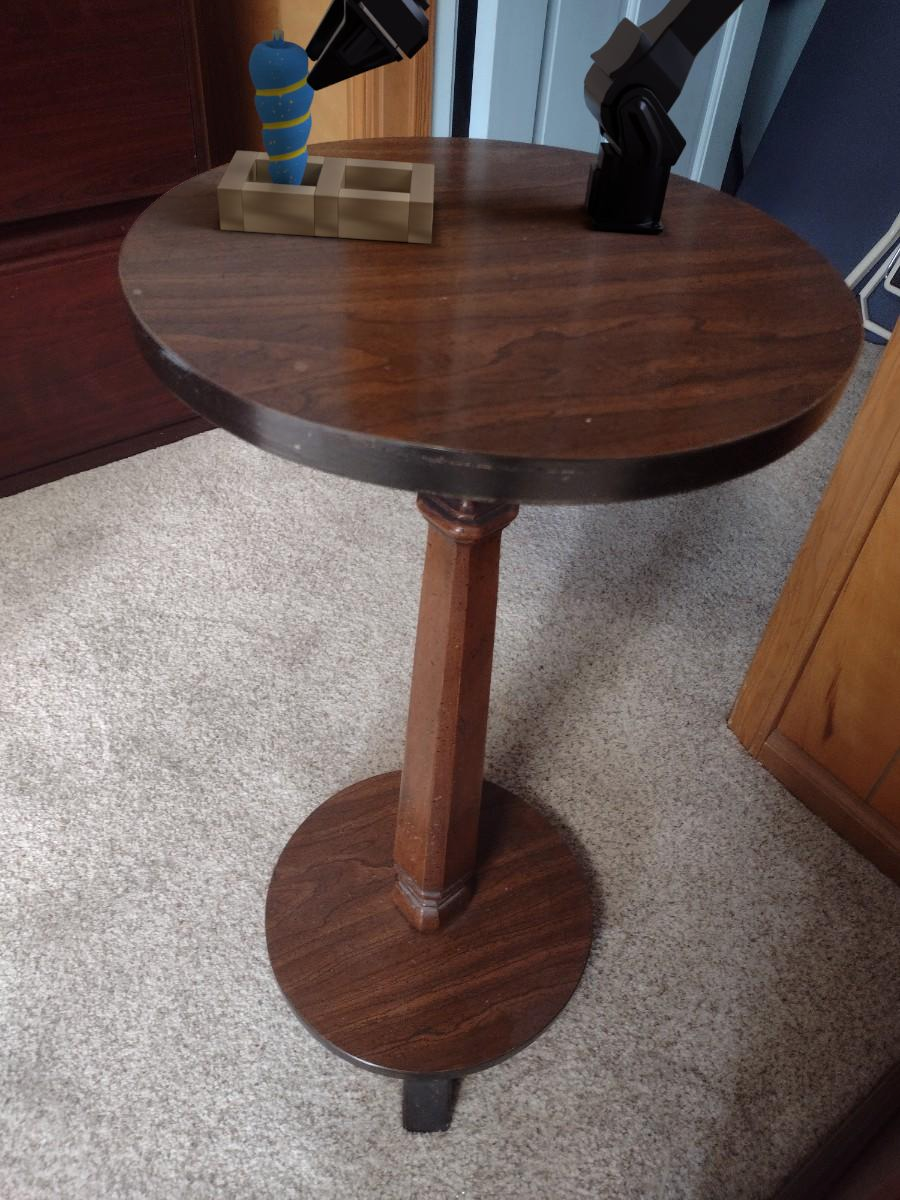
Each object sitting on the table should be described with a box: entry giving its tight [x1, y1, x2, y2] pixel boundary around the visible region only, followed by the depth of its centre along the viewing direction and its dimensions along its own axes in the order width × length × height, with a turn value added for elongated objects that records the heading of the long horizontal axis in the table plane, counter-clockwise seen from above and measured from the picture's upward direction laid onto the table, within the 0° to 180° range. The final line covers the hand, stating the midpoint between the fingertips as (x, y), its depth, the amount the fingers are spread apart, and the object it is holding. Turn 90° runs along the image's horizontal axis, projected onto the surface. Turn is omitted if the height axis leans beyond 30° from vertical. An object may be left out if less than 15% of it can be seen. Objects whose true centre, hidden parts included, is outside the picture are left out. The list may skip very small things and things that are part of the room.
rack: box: [216, 150, 435, 245], centre depth 86 cm, size 18×10×4 cm, turn 90°
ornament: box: [248, 20, 315, 185], centre depth 82 cm, size 5×5×15 cm
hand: (309, 70), depth 79 cm, fingers open, 9 cm apart
